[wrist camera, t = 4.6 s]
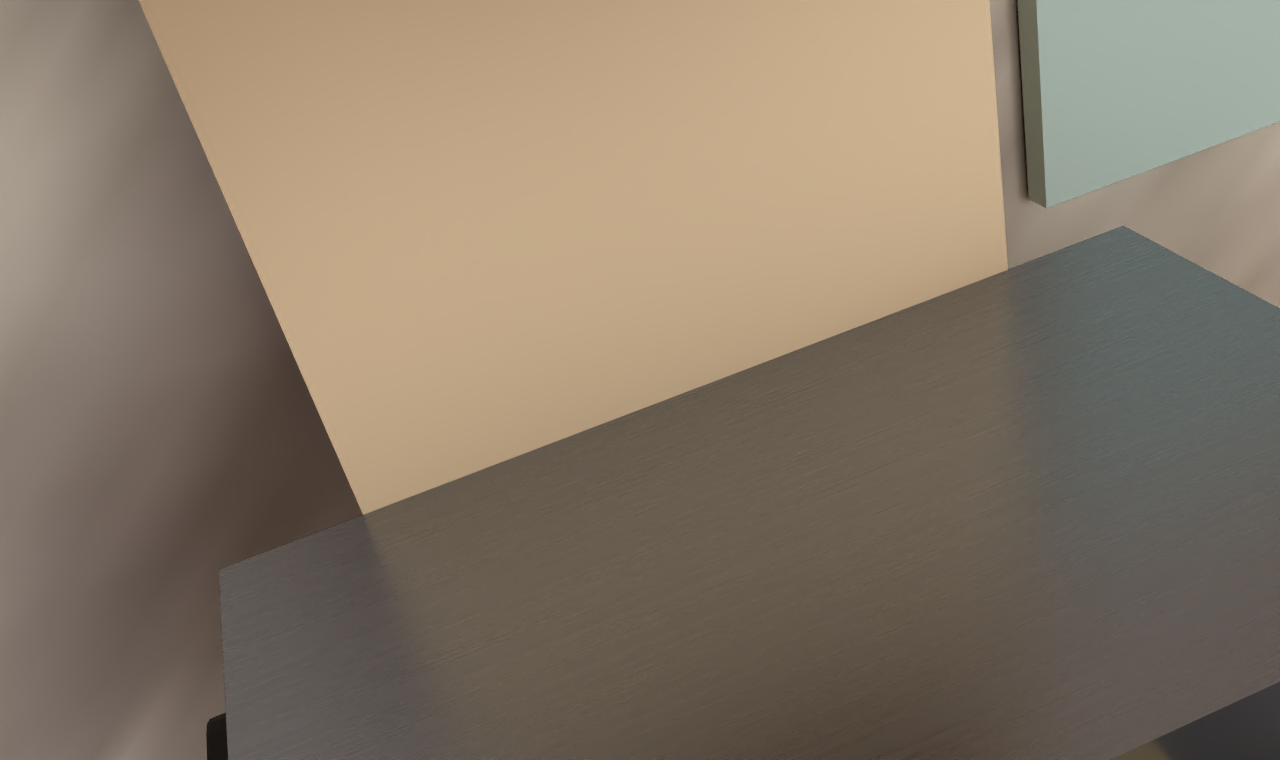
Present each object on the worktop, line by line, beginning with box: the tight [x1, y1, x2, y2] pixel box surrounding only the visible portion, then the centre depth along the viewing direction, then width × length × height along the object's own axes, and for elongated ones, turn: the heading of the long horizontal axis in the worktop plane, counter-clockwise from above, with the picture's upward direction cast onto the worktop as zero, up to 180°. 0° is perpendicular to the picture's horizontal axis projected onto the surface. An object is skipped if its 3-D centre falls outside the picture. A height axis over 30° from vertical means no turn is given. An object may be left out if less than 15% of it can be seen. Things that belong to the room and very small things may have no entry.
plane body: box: [138, 0, 1008, 515], centre depth 12 cm, size 24×5×9 cm, turn 14°
